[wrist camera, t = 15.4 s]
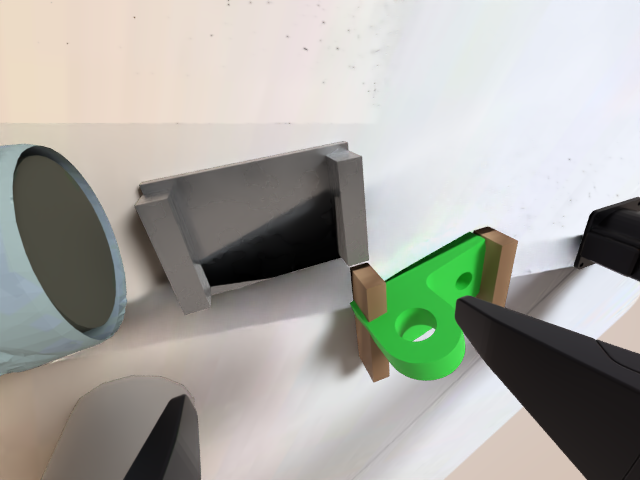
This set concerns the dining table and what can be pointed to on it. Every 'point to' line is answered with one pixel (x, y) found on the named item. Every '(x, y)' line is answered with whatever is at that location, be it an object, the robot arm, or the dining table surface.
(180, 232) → the u-shaped bracket
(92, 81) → the dining table surface
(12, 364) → the teal tapered tumbler
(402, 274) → the mechanical part
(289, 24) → the dining table surface
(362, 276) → the beam rails
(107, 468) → the cup
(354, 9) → the dining table surface
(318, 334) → the dining table surface
